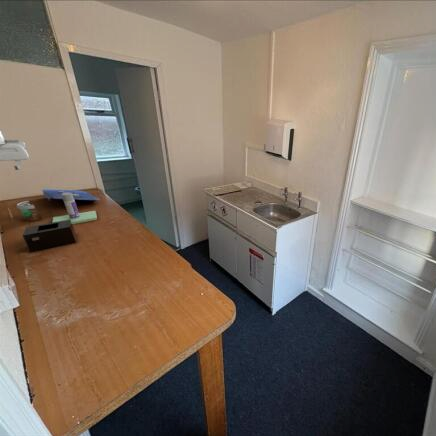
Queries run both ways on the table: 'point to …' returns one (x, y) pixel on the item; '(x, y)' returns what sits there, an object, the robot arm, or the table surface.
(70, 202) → the container
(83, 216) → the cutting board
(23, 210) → the food container
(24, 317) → the table surface
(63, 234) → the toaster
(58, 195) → the blue sloped panel
